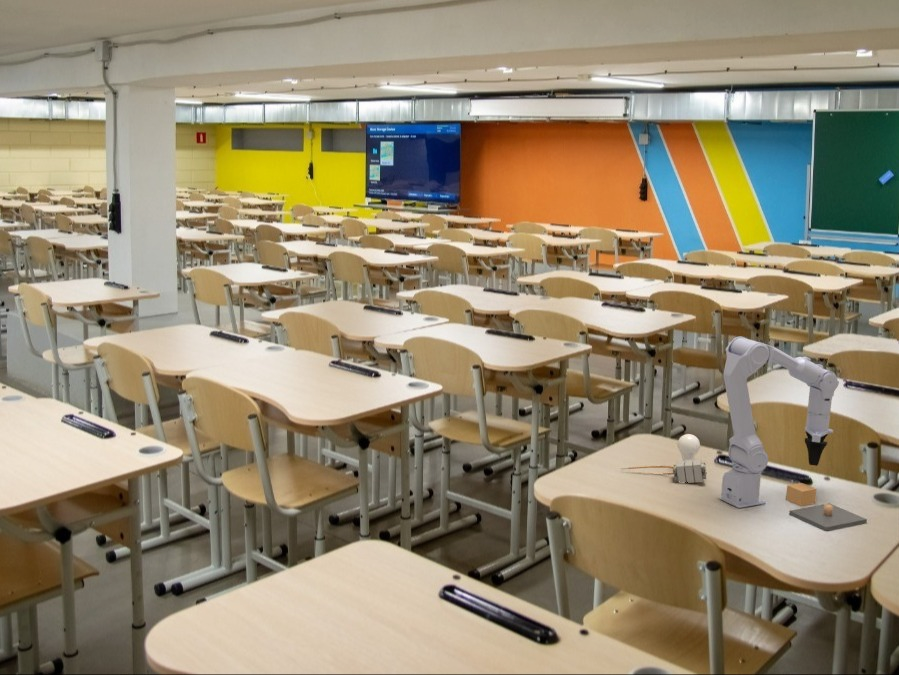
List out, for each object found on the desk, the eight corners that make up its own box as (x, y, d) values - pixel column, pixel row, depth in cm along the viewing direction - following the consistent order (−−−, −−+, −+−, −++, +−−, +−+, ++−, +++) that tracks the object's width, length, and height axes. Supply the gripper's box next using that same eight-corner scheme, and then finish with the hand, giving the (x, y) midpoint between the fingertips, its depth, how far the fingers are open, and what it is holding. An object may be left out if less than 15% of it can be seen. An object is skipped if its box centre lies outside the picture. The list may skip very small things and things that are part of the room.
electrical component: (621, 488, 266) (618, 471, 265) (623, 481, 271) (620, 465, 271) (707, 482, 258) (704, 464, 258) (707, 475, 264) (705, 458, 263)
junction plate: (825, 531, 228) (827, 517, 227) (789, 514, 239) (790, 501, 238) (866, 522, 234) (867, 509, 233) (829, 506, 245) (830, 494, 244)
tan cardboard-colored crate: (800, 505, 245) (801, 491, 244) (785, 499, 250) (787, 485, 249) (815, 503, 247) (816, 489, 246) (800, 496, 252) (801, 482, 251)
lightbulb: (700, 474, 269) (703, 437, 266) (678, 473, 269) (681, 437, 267) (695, 467, 275) (697, 431, 273) (673, 466, 275) (676, 431, 273)
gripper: (834, 420, 241) (829, 470, 244) (834, 408, 255) (829, 455, 257) (805, 417, 244) (800, 466, 247) (807, 405, 257) (802, 452, 260)
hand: (813, 460), depth 252 cm, fingers open, 7 cm apart
